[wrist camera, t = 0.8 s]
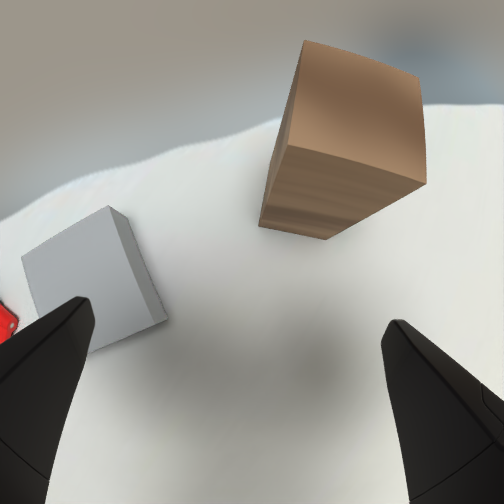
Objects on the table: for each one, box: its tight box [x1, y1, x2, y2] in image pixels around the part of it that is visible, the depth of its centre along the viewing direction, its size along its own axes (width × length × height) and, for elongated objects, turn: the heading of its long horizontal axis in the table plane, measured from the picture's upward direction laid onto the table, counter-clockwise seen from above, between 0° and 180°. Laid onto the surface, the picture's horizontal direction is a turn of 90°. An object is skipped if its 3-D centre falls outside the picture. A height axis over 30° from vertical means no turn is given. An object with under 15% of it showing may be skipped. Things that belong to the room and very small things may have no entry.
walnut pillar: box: [258, 40, 426, 240], centre depth 16 cm, size 5×5×13 cm
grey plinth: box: [21, 205, 168, 354], centre depth 19 cm, size 8×8×4 cm
